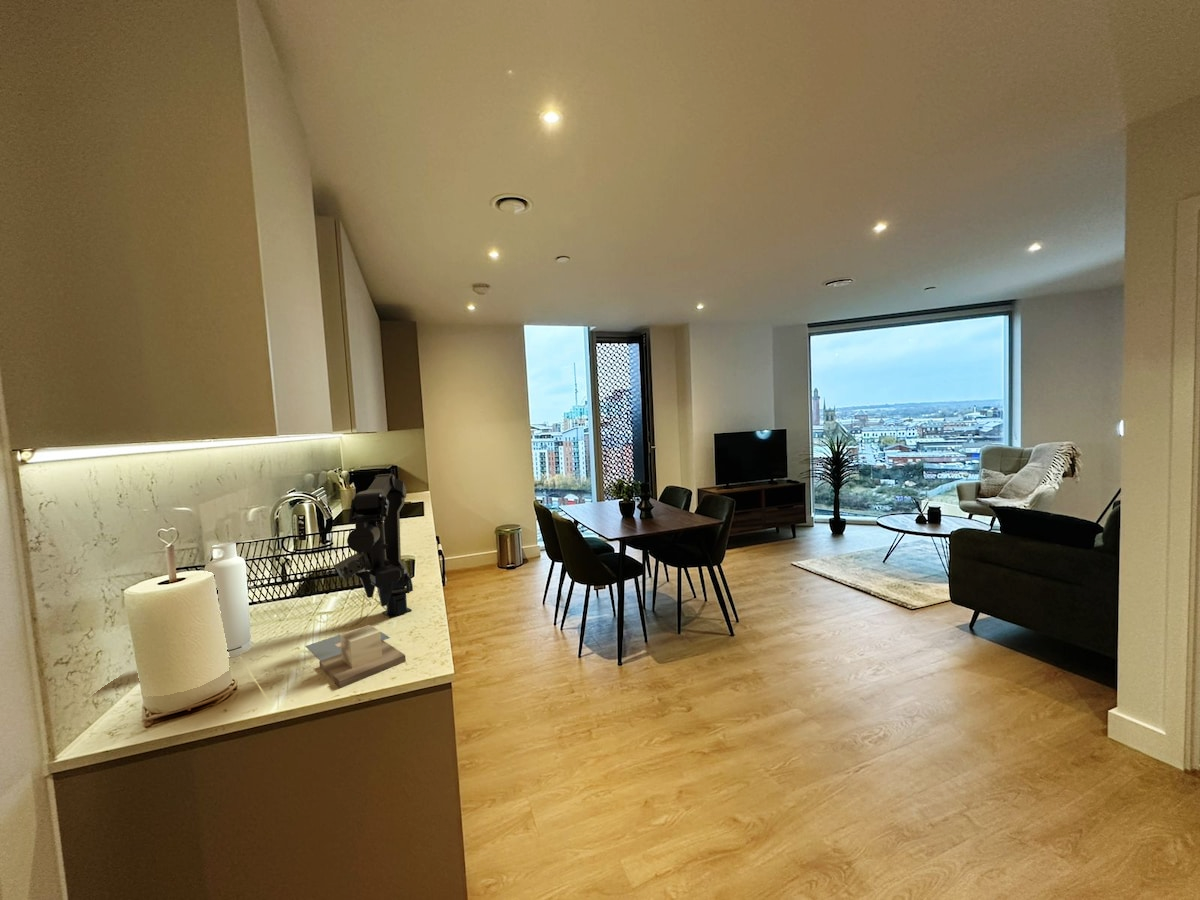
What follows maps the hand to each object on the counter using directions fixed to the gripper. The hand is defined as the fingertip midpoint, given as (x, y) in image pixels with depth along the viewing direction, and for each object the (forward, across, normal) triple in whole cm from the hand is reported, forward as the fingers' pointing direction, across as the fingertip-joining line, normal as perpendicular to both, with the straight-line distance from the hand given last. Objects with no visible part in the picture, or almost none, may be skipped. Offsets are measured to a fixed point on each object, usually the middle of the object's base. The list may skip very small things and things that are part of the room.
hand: (376, 601), depth 113 cm
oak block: (+10, +8, -7) cm, 14 cm away
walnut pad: (+11, +8, -7) cm, 15 cm away
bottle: (+12, -28, -26) cm, 40 cm away
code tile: (+12, -8, -5) cm, 15 cm away
